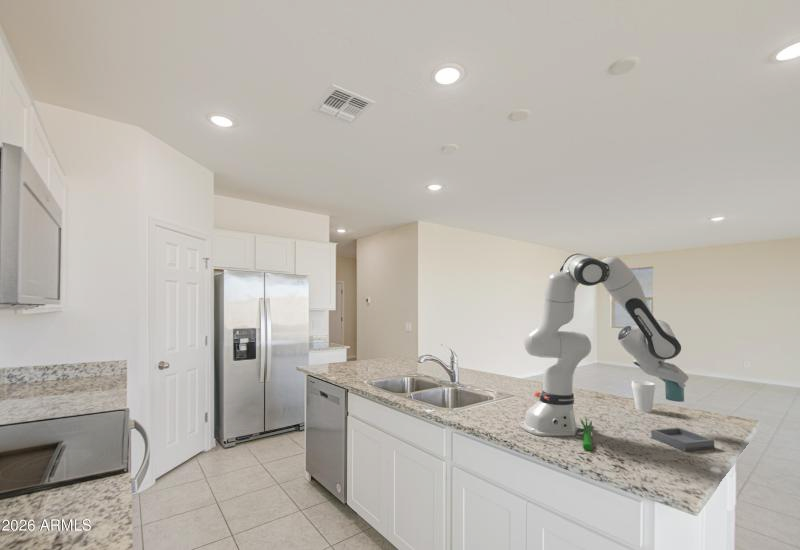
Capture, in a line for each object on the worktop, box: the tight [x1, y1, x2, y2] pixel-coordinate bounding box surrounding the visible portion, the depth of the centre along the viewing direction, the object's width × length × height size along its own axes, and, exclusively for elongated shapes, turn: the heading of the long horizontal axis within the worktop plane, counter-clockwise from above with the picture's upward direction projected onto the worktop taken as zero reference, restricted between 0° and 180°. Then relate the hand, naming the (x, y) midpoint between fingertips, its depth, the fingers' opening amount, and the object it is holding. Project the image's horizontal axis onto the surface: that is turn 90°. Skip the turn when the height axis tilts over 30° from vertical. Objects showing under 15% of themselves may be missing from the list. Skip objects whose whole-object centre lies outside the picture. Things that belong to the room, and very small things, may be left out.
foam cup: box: [631, 380, 656, 413], centre depth 173 cm, size 10×9×13 cm
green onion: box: [578, 416, 593, 452], centre depth 139 cm, size 5×3×30 cm
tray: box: [650, 426, 715, 453], centre depth 134 cm, size 13×13×3 cm
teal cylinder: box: [664, 379, 685, 403], centre depth 148 cm, size 6×6×11 cm
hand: (675, 384), depth 148 cm, fingers closed on teal cylinder, 6 cm apart
